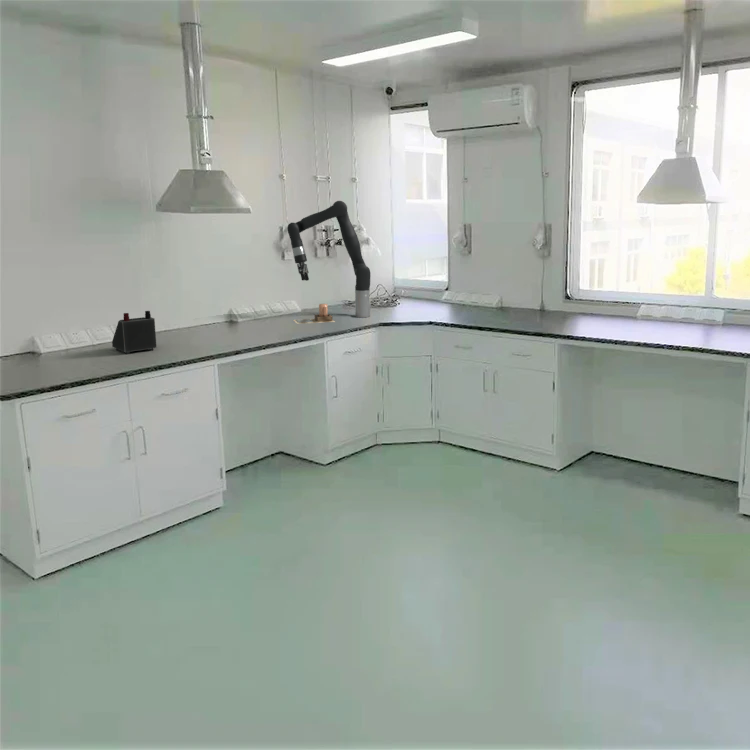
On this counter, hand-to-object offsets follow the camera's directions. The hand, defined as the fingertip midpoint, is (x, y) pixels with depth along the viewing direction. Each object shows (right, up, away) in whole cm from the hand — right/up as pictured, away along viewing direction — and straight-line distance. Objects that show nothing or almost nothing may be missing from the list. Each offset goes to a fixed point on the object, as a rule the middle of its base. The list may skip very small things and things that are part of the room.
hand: (305, 280), depth 433 cm
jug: (+12, -26, -6) cm, 29 cm away
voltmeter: (-77, -47, -85) cm, 124 cm away
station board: (+6, -27, -6) cm, 28 cm away
